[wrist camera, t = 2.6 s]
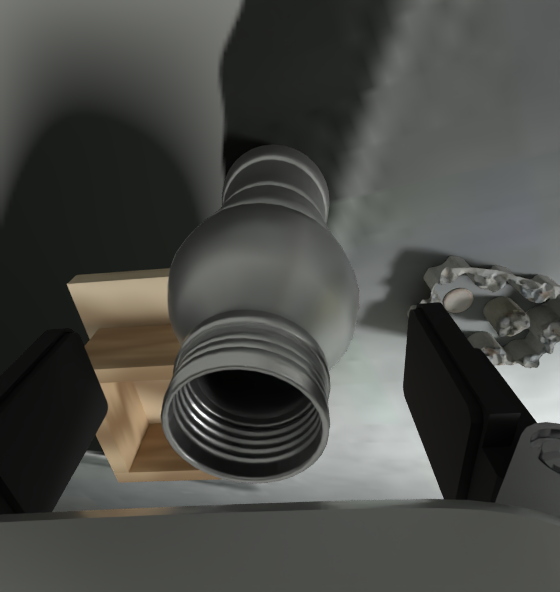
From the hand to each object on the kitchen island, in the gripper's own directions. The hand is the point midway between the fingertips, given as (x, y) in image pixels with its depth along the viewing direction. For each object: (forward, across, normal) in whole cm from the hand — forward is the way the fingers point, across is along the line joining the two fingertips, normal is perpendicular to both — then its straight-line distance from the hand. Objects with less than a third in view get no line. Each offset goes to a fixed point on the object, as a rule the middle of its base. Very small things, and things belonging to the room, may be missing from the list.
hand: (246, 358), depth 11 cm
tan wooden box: (+17, +8, +14) cm, 24 cm away
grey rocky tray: (+18, -15, +9) cm, 25 cm away
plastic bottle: (+17, -1, -1) cm, 17 cm away
